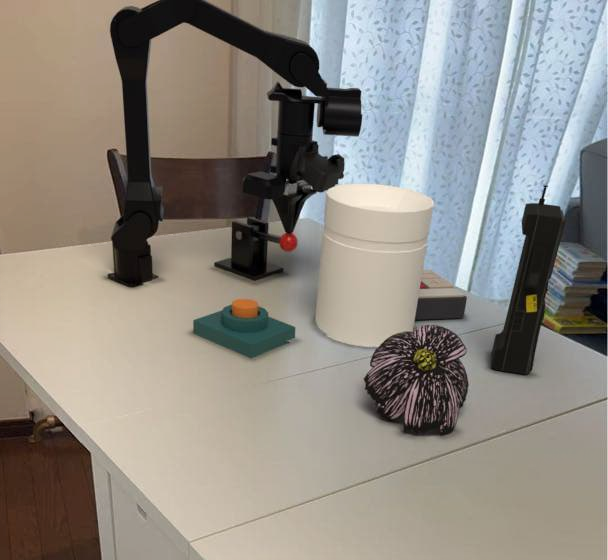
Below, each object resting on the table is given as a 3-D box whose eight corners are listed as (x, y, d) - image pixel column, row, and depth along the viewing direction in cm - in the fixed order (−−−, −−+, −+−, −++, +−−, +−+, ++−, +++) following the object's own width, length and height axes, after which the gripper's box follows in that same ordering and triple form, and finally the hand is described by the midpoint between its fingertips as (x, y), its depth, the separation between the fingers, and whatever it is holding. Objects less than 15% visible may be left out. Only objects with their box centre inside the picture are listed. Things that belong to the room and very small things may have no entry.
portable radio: (531, 379, 118) (578, 202, 103) (490, 373, 119) (531, 196, 104) (530, 358, 125) (574, 188, 110) (491, 352, 125) (530, 182, 110)
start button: (226, 314, 120) (226, 302, 119) (244, 307, 123) (244, 296, 122) (245, 321, 118) (246, 310, 117) (263, 315, 121) (264, 304, 120)
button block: (193, 333, 122) (193, 308, 120) (237, 317, 129) (238, 293, 126) (251, 358, 117) (252, 332, 114) (294, 340, 123) (296, 315, 121)
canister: (301, 334, 125) (312, 200, 113) (331, 302, 138) (344, 178, 126) (400, 354, 122) (421, 219, 110) (422, 320, 134) (443, 194, 122)
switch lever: (301, 251, 140) (301, 232, 138) (289, 255, 138) (289, 236, 136) (250, 238, 146) (250, 220, 144) (238, 241, 144) (238, 223, 142)
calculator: (432, 267, 145) (469, 292, 133) (429, 291, 148) (464, 318, 136) (376, 268, 142) (408, 294, 130) (373, 292, 145) (404, 320, 133)
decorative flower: (354, 354, 97) (409, 288, 104) (334, 415, 107) (385, 350, 114) (459, 414, 95) (506, 342, 102) (429, 470, 105) (474, 401, 112)
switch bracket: (283, 274, 147) (286, 224, 142) (254, 283, 142) (256, 232, 137) (243, 260, 152) (244, 212, 147) (214, 268, 147) (214, 219, 142)
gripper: (296, 148, 118) (290, 255, 128) (369, 136, 130) (358, 234, 140) (241, 135, 124) (238, 238, 133) (316, 124, 136) (309, 219, 145)
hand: (289, 232), depth 138 cm, fingers closed, pressing on switch lever
